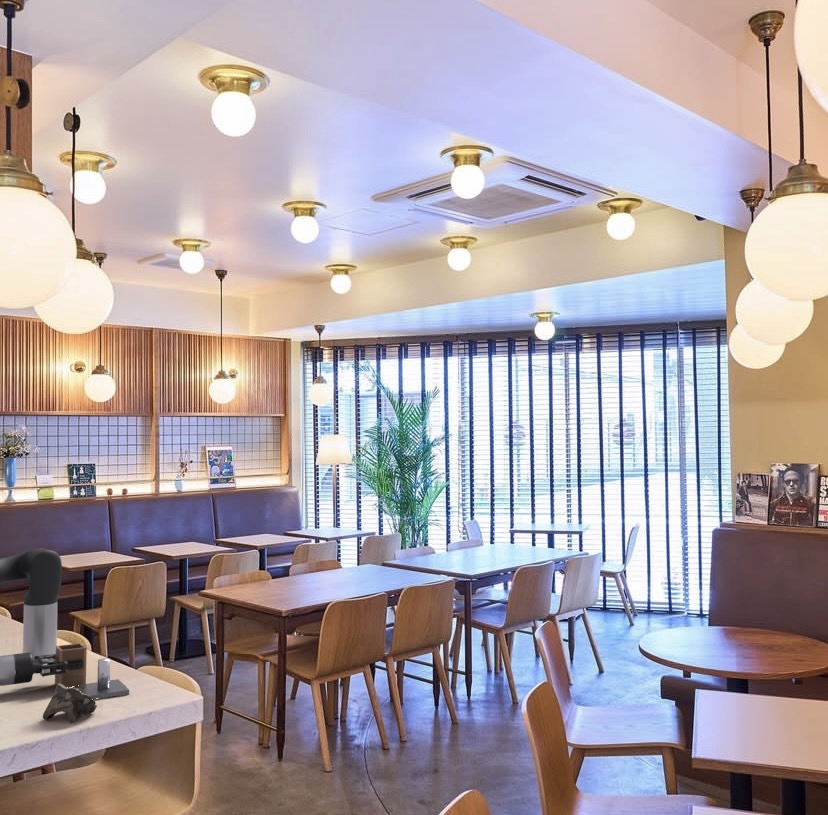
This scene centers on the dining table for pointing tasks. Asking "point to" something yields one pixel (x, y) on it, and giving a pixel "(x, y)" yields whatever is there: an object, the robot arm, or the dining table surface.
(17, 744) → the dining table surface
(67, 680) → the walnut sleeve
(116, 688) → the post plate
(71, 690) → the fossil
